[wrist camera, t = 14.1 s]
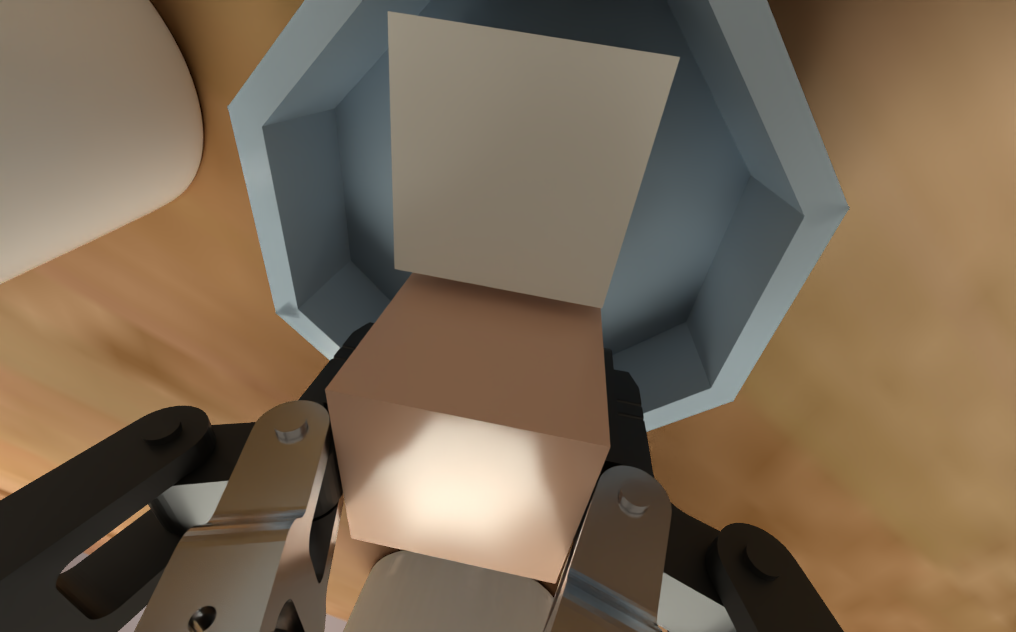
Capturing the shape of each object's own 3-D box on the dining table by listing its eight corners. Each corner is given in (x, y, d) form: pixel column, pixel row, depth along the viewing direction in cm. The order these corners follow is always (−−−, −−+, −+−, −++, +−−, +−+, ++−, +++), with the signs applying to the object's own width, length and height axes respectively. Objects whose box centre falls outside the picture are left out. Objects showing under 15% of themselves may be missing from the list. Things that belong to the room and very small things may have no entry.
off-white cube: (459, 24, 10) (387, 10, 6) (643, 53, 10) (680, 57, 6) (450, 203, 13) (394, 268, 9) (596, 229, 12) (602, 308, 9)
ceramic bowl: (299, -88, 10) (166, -151, 7) (857, -14, 9) (1003, -47, 6) (349, 339, 17) (297, 405, 14) (663, 400, 16) (683, 485, 13)
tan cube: (418, 263, 10) (325, 389, 6) (600, 296, 10) (610, 447, 6) (418, 394, 13) (350, 538, 9) (563, 423, 12) (555, 583, 9)
